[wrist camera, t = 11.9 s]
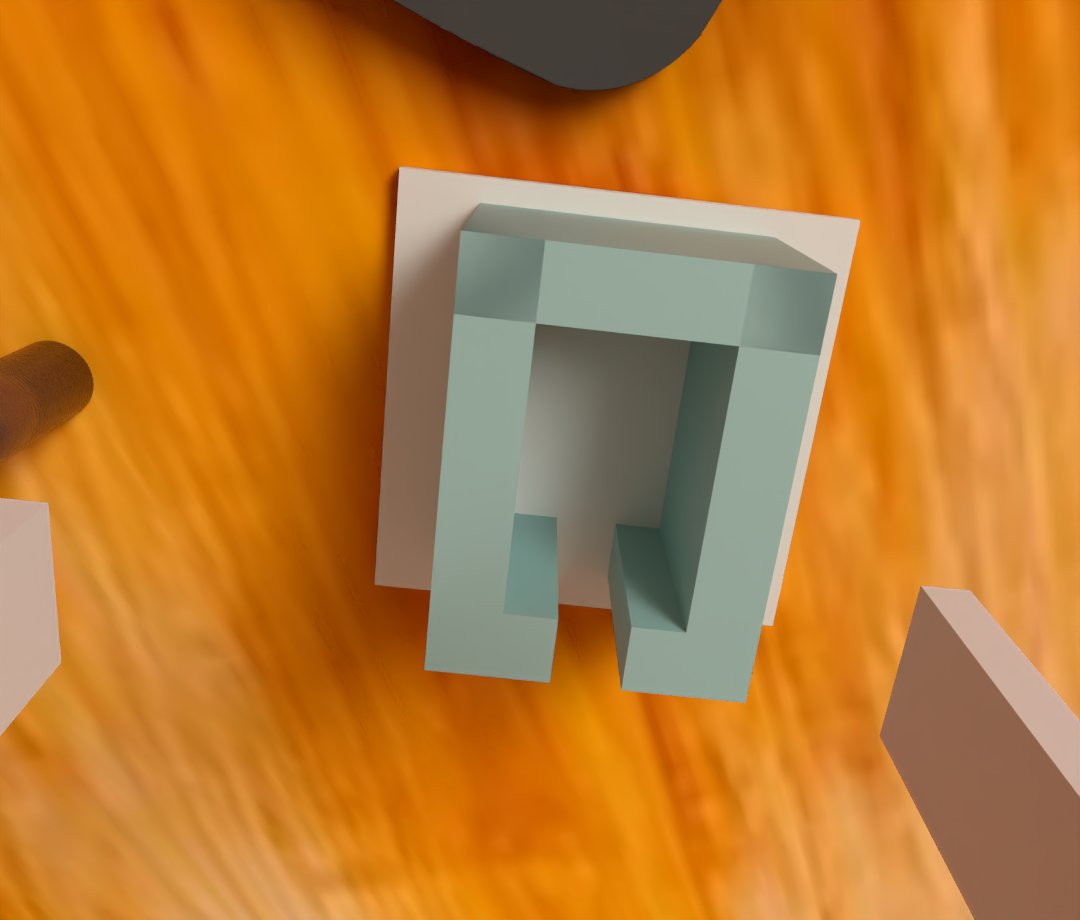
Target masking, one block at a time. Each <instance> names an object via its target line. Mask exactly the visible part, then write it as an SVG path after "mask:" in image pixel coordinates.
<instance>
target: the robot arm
mask: <svg viewBox="0 0 1080 920" xmlns="http://www.w3.org/2000/svg"><path fill="white" fill-rule="evenodd" d="M60 663H61V653H60V640H59V628H58V616H57V604H56V591H55V579H54V567H53V555H52V542H51V530H50V518H49V506H48V503H46V502H36V501H25V500H15V499H4V498H0V736H1V734H2V733H3V732H4V731H5V730H6V728H7V727H8V726H9V725H10V724H11V722H12V721H13V720H14V719H15V718H16V716H17V715H18V714H19V713H20V712H21V710H22V709H23V708H24V707H25V706H26V704H27V703H28V702H29V701H30V700H31V698H32V697H33V696H34V695H35V694H36V692H37V691H38V690H39V689H40V688H41V686H42V685H43V684H44V683H45V681H46V680H47V679H48V678H49V677H50V675H51V674H52V673H53V672H54V671H55V669H56V668H57V667H58V666H59V665H60ZM880 737H881V739H882V741H883V743H884V745H885V747H886V749H887V751H888V753H889V755H890V757H891V759H892V760H893V762H894V764H895V766H896V768H897V770H898V772H899V774H900V776H901V778H902V780H903V782H904V784H905V786H906V788H907V789H908V791H909V793H910V795H911V797H912V799H913V801H914V803H915V805H916V807H917V809H918V811H919V813H920V815H921V817H922V819H923V820H924V822H925V824H926V826H927V828H928V830H929V832H930V834H931V836H932V838H933V840H934V842H935V844H936V846H937V848H938V850H939V851H940V853H941V855H942V857H943V859H944V861H945V863H946V865H947V867H948V869H949V871H950V873H951V875H952V877H953V879H954V881H955V882H956V884H957V886H958V888H959V890H960V892H961V894H962V896H963V898H964V900H965V902H966V904H967V906H968V908H969V910H970V911H971V913H972V915H973V917H974V919H975V920H1080V720H1079V719H1078V718H1077V717H1076V715H1075V714H1074V713H1073V712H1072V711H1071V709H1070V708H1069V707H1068V706H1067V705H1066V704H1065V702H1064V701H1063V700H1062V699H1061V698H1060V696H1059V695H1058V694H1057V693H1056V692H1055V690H1054V689H1053V688H1052V687H1051V686H1050V685H1049V683H1048V682H1047V681H1046V680H1045V679H1044V677H1043V676H1042V675H1041V674H1040V673H1039V671H1038V670H1037V669H1036V668H1035V667H1034V666H1033V664H1032V663H1031V662H1030V661H1029V660H1028V658H1027V657H1026V656H1025V655H1024V654H1023V653H1022V651H1021V650H1020V649H1019V648H1018V647H1017V645H1016V644H1015V643H1014V642H1013V641H1012V639H1011V638H1010V637H1009V636H1008V635H1007V634H1006V632H1005V631H1004V630H1003V629H1002V628H1001V626H1000V625H999V624H998V623H997V622H996V620H995V619H994V618H993V617H992V616H991V615H990V613H989V612H988V611H987V610H986V609H985V607H984V606H983V605H982V604H981V603H980V601H979V600H978V599H977V598H976V597H975V596H974V594H973V593H972V592H971V591H970V590H961V589H950V588H940V587H929V586H921V587H920V591H919V594H918V598H917V602H916V605H915V609H914V613H913V616H912V620H911V624H910V627H909V631H908V635H907V638H906V642H905V646H904V649H903V653H902V657H901V660H900V664H899V667H898V671H897V675H896V678H895V682H894V686H893V689H892V693H891V697H890V700H889V704H888V708H887V711H886V715H885V719H884V722H883V726H882V730H881V733H880Z"/></svg>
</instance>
